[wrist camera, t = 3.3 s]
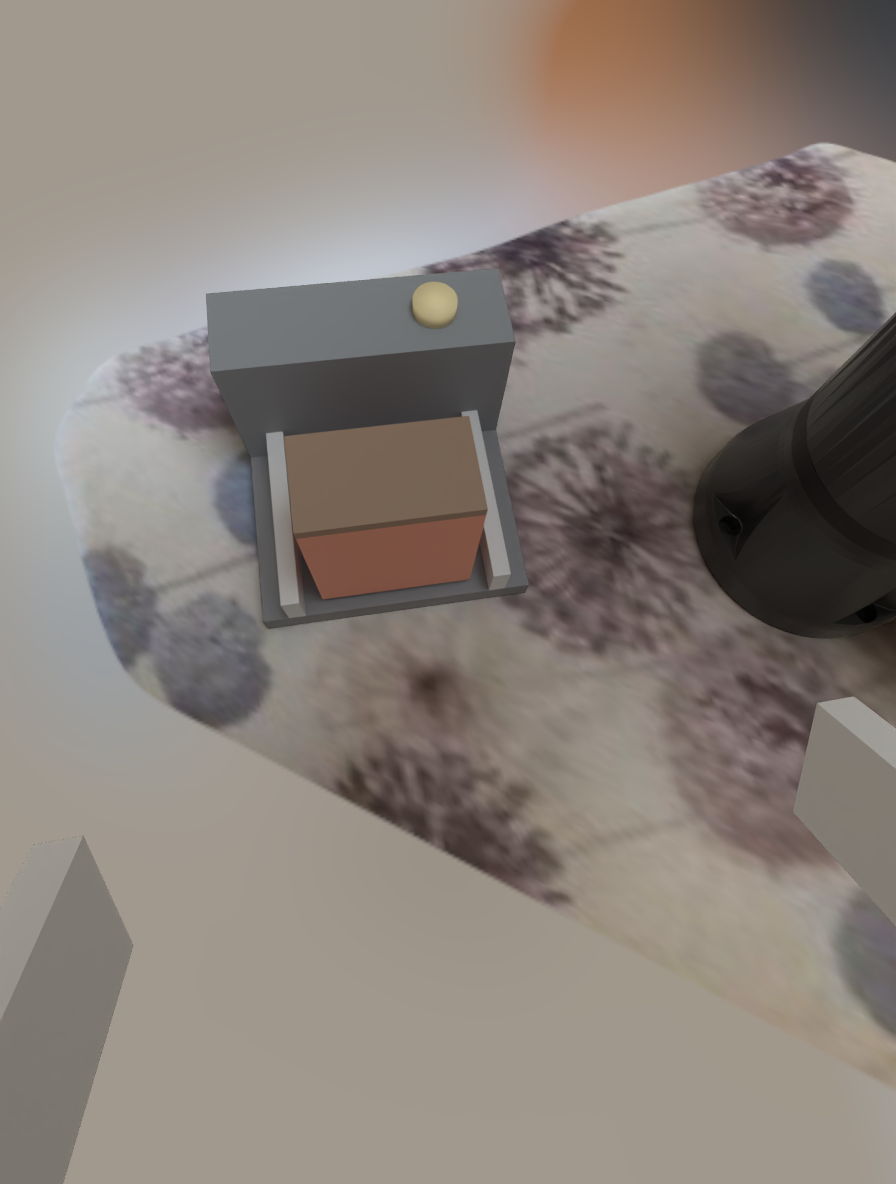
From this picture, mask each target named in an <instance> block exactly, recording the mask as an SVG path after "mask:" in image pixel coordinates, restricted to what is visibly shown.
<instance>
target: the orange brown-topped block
mask: <svg viewBox="0 0 896 1184" xmlns="http://www.w3.org/2000/svg"><path fill="white" fill-rule="evenodd" d="M284 440H285V450H286V461H287V471H288V482H289V492H290V503H291V513H292V523H293V534H294V536H295V538H296V541H297V543H298V545H299V547H300V550H301V552H302V554H303V556H304V559H305V561H306V563H307V565H308V568H309V570H310V572H311V574H312V577H313V579H314V581H315V583H316V586H317V588H318V590H319V592H320V595H321V597H322V599H330V598H337V597H345V596H352V595H359V594H366V593H374V592H381V591H388V590H396V589H403V588H410V587H418V586H425V585H432V584H439V583H447V582H454V581H461V580H469V579H470V577H471V573H472V569H473V565H474V561H475V557H476V553H477V549H478V545H479V542H480V538H481V534H482V530H483V526H484V522H485V518H486V514H487V511H488V508H487V503H486V498H485V493H484V488H483V483H482V478H481V473H480V468H479V463H478V458H477V453H476V448H475V443H474V438H473V433H472V428H471V423H470V418H469V416H463V417H454V418H445V419H436V420H427V421H418V422H409V423H400V424H391V425H381V426H372V427H363V428H354V429H345V430H336V431H327V432H318V433H309V434H300V435H291V436H284Z"/></svg>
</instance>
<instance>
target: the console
mask: <svg viewBox="0 0 896 1184" xmlns="http://www.w3.org/2000/svg"><path fill="white" fill-rule="evenodd" d="M206 304H207V320H208V339H209V357H210V372H211V374H212V376H213V378H214V380H215V383H216V385H217V387H218V389H219V391H220V393H221V395H222V398H223V400H224V402H225V404H226V406H227V408H228V410H229V412H230V415H231V417H232V419H233V421H234V423H235V425H236V427H237V429H238V432H239V434H240V436H241V438H242V440H243V442H244V444H245V446H246V449H247V451H248V453H249V455H250V457H251V468H252V481H253V494H254V507H255V520H256V533H257V546H258V560H259V573H260V586H261V599H262V612H263V622H264V623H265V625H266V626H267V627H268V628H276V627H283V626H290V625H297V624H304V623H311V622H319V621H326V620H333V619H340V618H347V617H354V616H361V615H368V614H376V613H383V612H390V611H397V610H404V609H411V608H418V607H425V606H432V605H440V604H447V603H454V602H461V601H468V600H475V599H482V598H489V597H496V596H504V595H511V594H518V593H525V591H526V589H527V587H528V585H529V583H528V578H527V574H526V569H525V564H524V560H523V555H522V550H521V546H520V541H519V536H518V532H517V527H516V522H515V518H514V513H513V508H512V504H511V499H510V494H509V490H508V485H507V480H506V476H505V471H504V466H503V462H502V457H501V452H500V448H499V443H498V438H497V434H496V426H497V422H498V417H499V413H500V408H501V404H502V400H503V395H504V391H505V386H506V382H507V377H508V373H509V368H510V364H511V359H512V355H513V350H514V346H515V337H514V333H513V329H512V324H511V320H510V316H509V312H508V308H507V303H506V299H505V295H504V291H503V286H502V282H501V278H500V274H499V270H498V268H497V269H485V270H474V271H462V272H451V273H439V274H428V275H416V276H405V277H393V278H382V279H370V280H359V281H347V282H336V283H324V284H313V285H302V286H290V287H279V288H267V289H256V290H244V291H233V292H221V293H210V294H206ZM463 416H469V418H470V423H471V428H472V433H473V438H474V443H475V448H476V453H477V458H478V463H479V468H480V473H481V478H482V483H483V488H484V493H485V498H486V503H487V508H488V511H487V514H486V518H485V522H484V526H483V530H482V534H481V538H480V542H479V545H478V549H477V553H476V557H475V561H474V565H473V569H472V573H471V577H470V579H469V580H461V581H454V582H447V583H439V584H432V585H425V586H418V587H410V588H403V589H396V590H388V591H381V592H374V593H366V594H359V595H352V596H345V597H337V598H330V599H322V597H321V595H320V592H319V590H318V588H317V586H316V583H315V581H314V579H313V577H312V574H311V572H310V570H309V568H308V565H307V563H306V561H305V559H304V556H303V554H302V552H301V550H300V547H299V545H298V543H297V541H296V538H295V536H294V534H293V523H292V513H291V503H290V492H289V482H288V471H287V461H286V450H285V440H284V436H291V435H300V434H309V433H318V432H327V431H336V430H345V429H354V428H363V427H372V426H381V425H391V424H400V423H409V422H418V421H427V420H436V419H445V418H454V417H463Z"/></svg>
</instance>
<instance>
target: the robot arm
mask: <svg viewBox="0 0 896 1184" xmlns="http://www.w3.org/2000/svg"><path fill="white" fill-rule="evenodd" d="M694 526H695V532H696V537H697V541H698V544H699V547H700V550H701V552H702V555H703V557H704V559H705V561H706V563H707V565H708V567H709V569H710V570H711V572H712V573H713V575H714V577H715V578H716V579H717V581H718V582H719V583H720V585H721V586H722V587H723V588H724V589H725V591H726V592H727V593H728V594H729V595H730V596H731V597H732V598H733V599H734V600H735V601H736V602H738V603H739V604H740V605H741V606H742V607H744V608H745V609H746V610H747V611H749V612H750V613H752V614H753V615H755V616H756V617H758V618H759V619H761V620H763V621H765V622H767V623H769V624H770V625H773V626H775V627H777V628H779V629H782V630H785V631H788V632H791V633H794V634H798V635H803V636H808V637H815V638H840V637H847V636H851V635H855V634H859V633H862V632H865V631H867V630H870V629H873V628H875V627H878V626H880V625H883V624H885V623H888V622H890V621H892V620H894V619H896V313H895V314H894V315H893V316H892V317H891V318H890V319H889V320H888V321H887V322H886V323H885V324H884V325H883V326H881V327H880V328H879V329H878V330H877V331H876V332H875V333H874V334H873V335H872V336H871V337H870V338H869V339H868V340H867V341H866V342H865V343H864V344H863V345H862V346H861V347H860V348H859V349H858V350H857V351H856V352H855V353H854V354H853V355H852V356H851V357H850V358H849V359H848V360H847V361H846V362H845V363H844V364H843V365H842V366H841V367H840V368H839V369H838V370H837V371H836V372H835V373H834V374H833V375H832V376H831V377H830V378H829V379H828V380H827V381H826V382H825V383H824V384H823V385H822V386H821V387H820V388H819V389H818V390H817V391H816V392H815V393H814V394H813V395H812V396H811V397H810V398H809V399H807V400H805V401H803V402H801V403H798V404H796V405H794V406H792V407H790V408H787V409H785V410H783V411H781V412H779V413H777V414H774V415H772V416H770V417H768V418H766V419H763V420H761V421H759V422H757V423H755V424H753V425H751V426H749V427H748V428H746V429H745V430H743V431H742V432H740V433H739V434H738V435H736V436H735V437H734V438H733V439H732V440H731V441H729V442H728V443H727V445H726V446H725V447H724V448H723V449H722V450H721V451H720V452H719V454H718V455H717V456H716V457H715V458H714V459H713V460H712V462H711V463H710V464H709V465H708V467H707V468H706V470H705V472H704V473H703V475H702V477H701V479H700V482H699V485H698V487H697V491H696V495H695V500H694ZM793 812H794V813H795V815H796V816H797V817H798V818H799V819H800V820H801V821H802V822H803V823H804V825H805V826H806V827H807V828H808V829H809V830H810V831H811V832H812V833H813V835H814V836H815V837H816V838H817V839H818V840H819V841H820V842H821V843H822V845H823V846H824V847H825V848H826V849H827V850H828V851H829V852H830V853H831V855H832V856H833V857H834V858H835V859H836V860H837V861H838V862H839V863H840V865H841V866H842V867H843V868H844V869H845V870H846V871H847V872H848V874H849V875H850V876H851V877H852V878H853V879H854V880H855V881H856V882H857V884H858V885H859V886H860V887H861V888H862V889H863V890H864V891H865V892H866V894H867V895H868V896H869V897H870V898H871V899H872V900H873V901H874V902H875V904H876V905H877V906H878V907H879V908H880V909H881V910H882V911H883V912H884V914H885V915H886V916H887V917H888V918H889V919H890V920H891V921H892V922H893V924H894V925H895V926H896V728H894V727H893V726H892V725H890V724H889V723H888V722H887V721H885V720H884V719H883V718H881V717H880V716H879V715H877V714H876V713H875V712H873V711H872V710H871V709H870V708H868V707H867V706H866V705H864V704H863V703H862V702H860V701H859V700H858V699H857V698H855V697H854V696H853V697H848V698H842V699H837V700H831V701H826V702H820V703H817V705H816V710H815V714H814V719H813V723H812V728H811V732H810V737H809V741H808V746H807V750H806V755H805V759H804V764H803V768H802V773H801V778H800V782H799V787H798V791H797V796H796V800H795V805H794V809H793ZM132 948H133V944H132V941H131V939H130V937H129V935H128V933H127V931H126V928H125V926H124V924H123V922H122V919H121V917H120V915H119V913H118V911H117V908H116V906H115V904H114V902H113V900H112V897H111V895H110V893H109V891H108V889H107V886H106V884H105V882H104V880H103V878H102V876H101V873H100V871H99V869H98V867H97V865H96V862H95V860H94V858H93V856H92V854H91V851H90V849H89V847H88V845H87V843H86V841H85V838H84V836H79V837H74V838H68V839H63V840H57V841H51V842H46V843H40V844H34V845H33V847H32V848H31V851H30V852H29V854H28V856H27V858H26V860H25V862H24V863H23V866H22V867H21V869H20V871H19V873H18V875H17V877H16V879H15V880H14V882H13V885H12V886H11V888H10V890H9V892H8V894H7V896H6V897H5V900H4V901H3V903H2V905H1V907H0V1184H63V1182H64V1179H65V1175H66V1172H67V1168H68V1165H69V1162H70V1158H71V1155H72V1151H73V1148H74V1145H75V1141H76V1138H77V1135H78V1131H79V1128H80V1124H81V1121H82V1117H83V1114H84V1111H85V1107H86V1104H87V1100H88V1097H89V1094H90V1091H91V1087H92V1084H93V1080H94V1077H95V1074H96V1070H97V1067H98V1063H99V1060H100V1056H101V1053H102V1050H103V1046H104V1043H105V1039H106V1036H107V1033H108V1029H109V1026H110V1023H111V1019H112V1016H113V1012H114V1009H115V1006H116V1002H117V999H118V995H119V992H120V989H121V985H122V982H123V979H124V975H125V972H126V968H127V965H128V962H129V958H130V955H131V951H132Z"/></svg>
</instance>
